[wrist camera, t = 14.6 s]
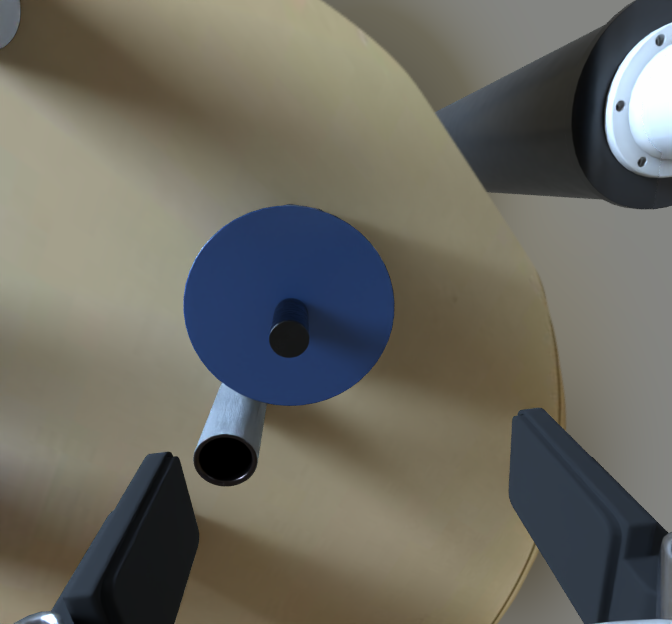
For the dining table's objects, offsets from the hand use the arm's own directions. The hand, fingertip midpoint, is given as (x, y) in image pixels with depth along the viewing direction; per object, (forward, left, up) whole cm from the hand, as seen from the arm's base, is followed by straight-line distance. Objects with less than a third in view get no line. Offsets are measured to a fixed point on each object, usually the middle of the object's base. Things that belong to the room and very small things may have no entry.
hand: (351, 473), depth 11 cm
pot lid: (+2, 0, -16) cm, 16 cm away
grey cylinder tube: (+8, +11, -26) cm, 29 cm away
